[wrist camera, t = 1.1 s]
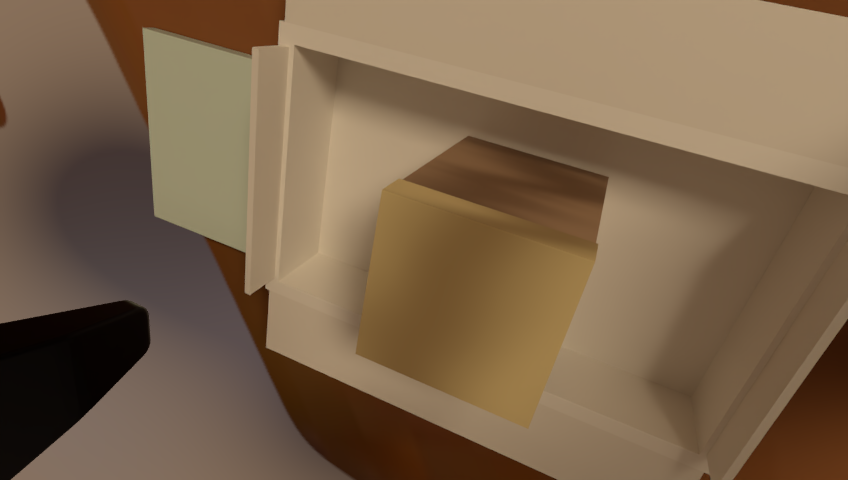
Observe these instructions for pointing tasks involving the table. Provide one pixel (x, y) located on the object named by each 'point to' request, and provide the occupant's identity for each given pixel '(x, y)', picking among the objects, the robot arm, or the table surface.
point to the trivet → (199, 134)
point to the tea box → (481, 273)
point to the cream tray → (621, 216)
